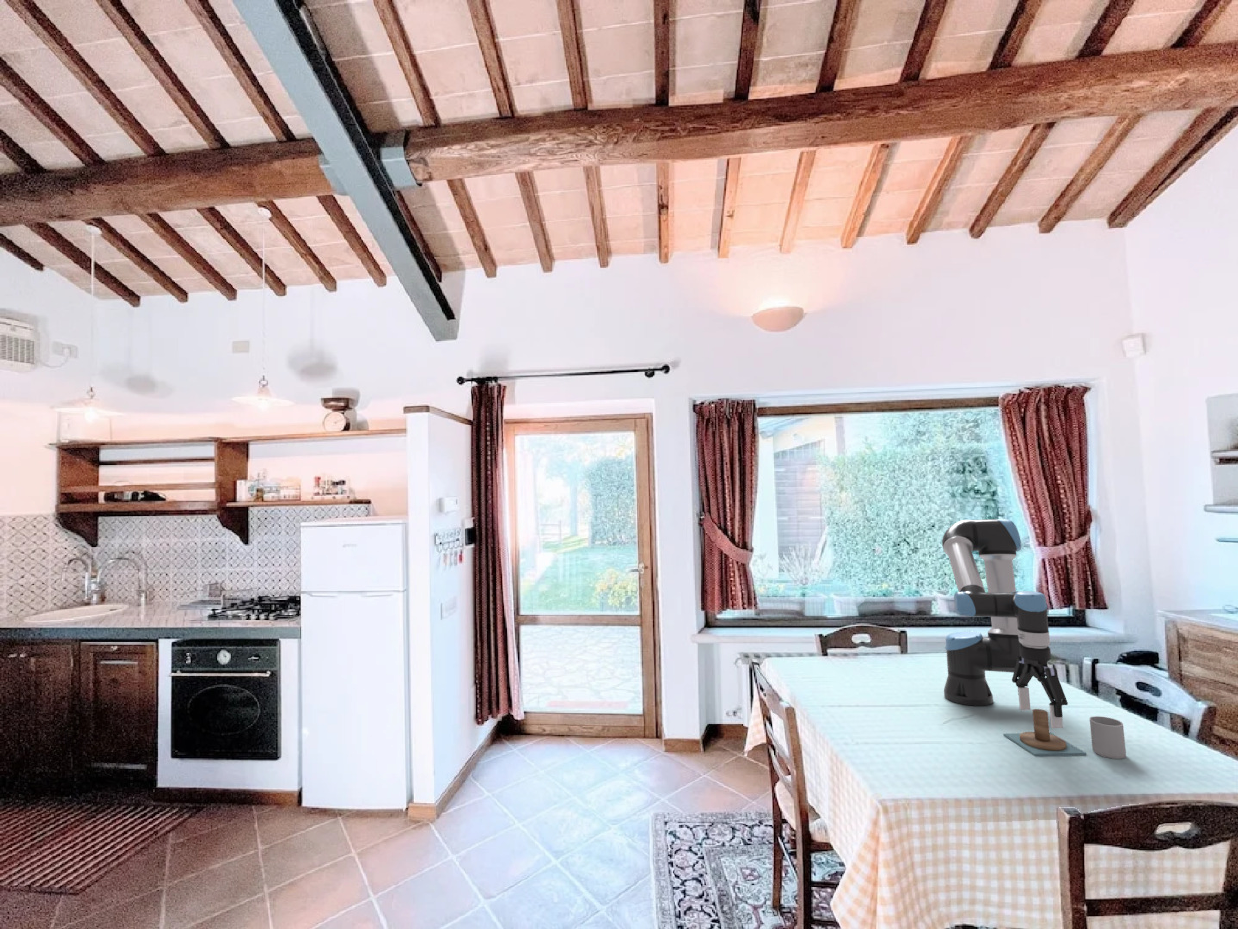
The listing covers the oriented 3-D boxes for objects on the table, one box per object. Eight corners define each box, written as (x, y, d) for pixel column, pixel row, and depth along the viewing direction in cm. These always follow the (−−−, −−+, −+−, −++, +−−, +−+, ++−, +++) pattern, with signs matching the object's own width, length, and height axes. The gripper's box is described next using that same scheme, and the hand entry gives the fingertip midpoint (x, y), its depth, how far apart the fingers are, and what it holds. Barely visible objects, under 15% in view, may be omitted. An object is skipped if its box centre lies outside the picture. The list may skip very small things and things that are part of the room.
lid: (1011, 735, 172) (1008, 705, 172) (1048, 734, 171) (1045, 704, 172) (1036, 751, 161) (1033, 719, 161) (1076, 750, 160) (1073, 718, 161)
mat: (1003, 735, 173) (1003, 733, 173) (1050, 734, 172) (1050, 732, 172) (1034, 756, 159) (1034, 753, 159) (1086, 755, 159) (1086, 752, 159)
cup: (1100, 758, 156) (1097, 725, 157) (1082, 743, 166) (1079, 712, 167) (1132, 760, 154) (1128, 727, 155) (1112, 745, 164) (1109, 713, 165)
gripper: (995, 635, 180) (1001, 702, 179) (1051, 657, 156) (1057, 736, 154) (1019, 634, 180) (1025, 702, 179) (1079, 656, 155) (1086, 735, 154)
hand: (1040, 718), depth 167 cm, fingers open, 13 cm apart
